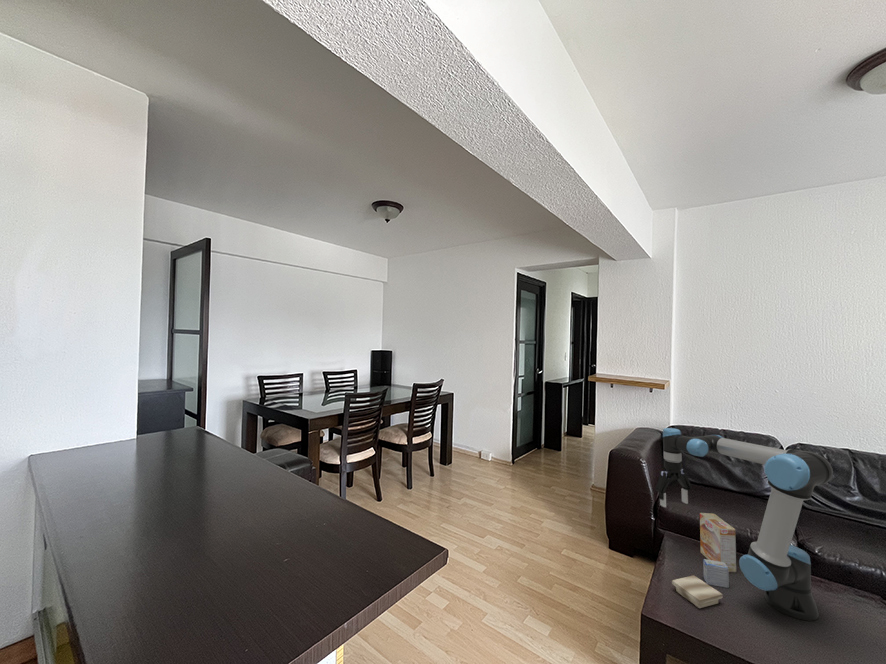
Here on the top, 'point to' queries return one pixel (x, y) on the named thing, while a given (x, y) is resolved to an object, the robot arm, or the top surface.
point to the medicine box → (716, 573)
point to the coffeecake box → (717, 540)
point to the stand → (697, 591)
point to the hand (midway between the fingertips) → (674, 504)
